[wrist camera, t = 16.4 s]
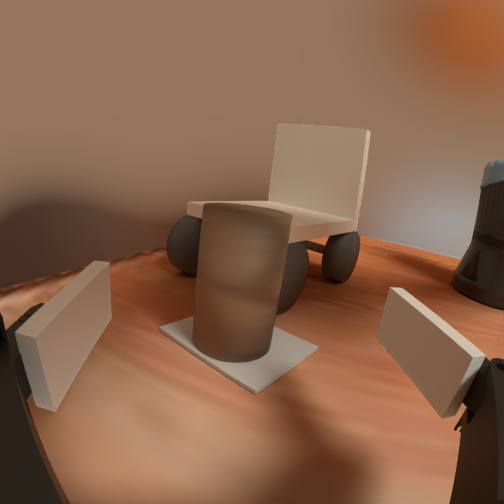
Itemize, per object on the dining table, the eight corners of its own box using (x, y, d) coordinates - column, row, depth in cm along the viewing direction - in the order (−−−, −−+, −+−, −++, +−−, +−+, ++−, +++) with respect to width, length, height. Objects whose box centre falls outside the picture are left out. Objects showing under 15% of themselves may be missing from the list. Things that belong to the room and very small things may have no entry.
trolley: (274, 251, 53) (291, 128, 48) (353, 276, 45) (377, 136, 39) (165, 274, 36) (182, 96, 31) (261, 323, 28) (294, 84, 23)
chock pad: (227, 306, 30) (227, 303, 30) (317, 349, 24) (318, 346, 24) (159, 329, 24) (159, 326, 24) (255, 394, 18) (256, 391, 18)
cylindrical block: (228, 316, 28) (242, 202, 25) (284, 343, 24) (308, 217, 22) (176, 335, 23) (185, 202, 21) (235, 372, 20) (256, 219, 17)
